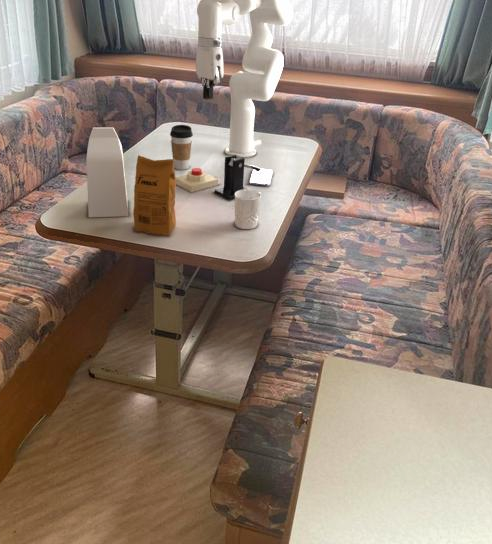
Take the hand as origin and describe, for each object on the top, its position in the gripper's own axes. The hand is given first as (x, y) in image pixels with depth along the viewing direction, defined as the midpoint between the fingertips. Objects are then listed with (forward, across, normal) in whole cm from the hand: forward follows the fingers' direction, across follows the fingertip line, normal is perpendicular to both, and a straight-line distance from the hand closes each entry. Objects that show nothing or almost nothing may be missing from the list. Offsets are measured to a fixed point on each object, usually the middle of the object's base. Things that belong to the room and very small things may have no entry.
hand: (208, 98), depth 200 cm
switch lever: (+19, -21, +1) cm, 28 cm away
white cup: (+27, -42, +18) cm, 53 cm away
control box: (+27, -7, +10) cm, 30 cm away
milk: (+27, -8, +46) cm, 54 cm away
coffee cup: (+27, +10, +4) cm, 29 cm away
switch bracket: (+27, -21, +5) cm, 35 cm away
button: (+24, -7, +10) cm, 26 cm away
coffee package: (+27, -28, +42) cm, 57 cm away
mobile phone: (+27, -16, -13) cm, 34 cm away
